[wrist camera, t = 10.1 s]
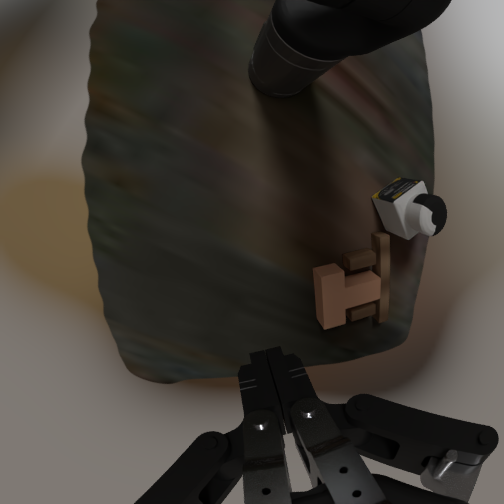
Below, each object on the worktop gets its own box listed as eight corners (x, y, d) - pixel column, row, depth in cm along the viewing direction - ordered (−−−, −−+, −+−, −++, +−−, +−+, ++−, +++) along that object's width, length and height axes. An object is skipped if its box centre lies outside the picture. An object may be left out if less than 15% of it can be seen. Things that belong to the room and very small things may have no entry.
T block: (312, 268, 47) (321, 277, 43) (369, 254, 48) (380, 261, 44) (316, 318, 50) (324, 329, 46) (369, 303, 51) (379, 312, 47)
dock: (341, 240, 46) (349, 244, 43) (380, 231, 46) (389, 235, 44) (345, 324, 51) (351, 332, 48) (380, 313, 52) (387, 320, 49)
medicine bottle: (398, 176, 44) (444, 183, 33) (411, 210, 46) (456, 224, 35) (370, 196, 44) (413, 208, 33) (385, 230, 47) (427, 250, 35)
